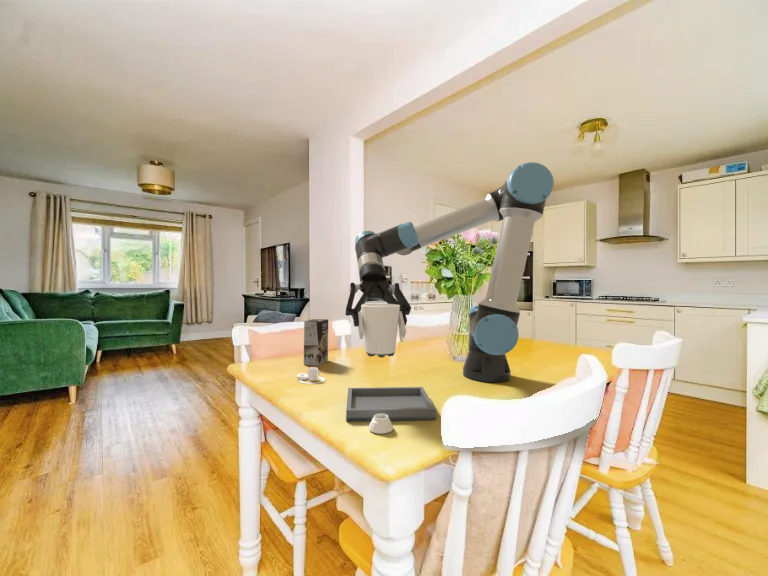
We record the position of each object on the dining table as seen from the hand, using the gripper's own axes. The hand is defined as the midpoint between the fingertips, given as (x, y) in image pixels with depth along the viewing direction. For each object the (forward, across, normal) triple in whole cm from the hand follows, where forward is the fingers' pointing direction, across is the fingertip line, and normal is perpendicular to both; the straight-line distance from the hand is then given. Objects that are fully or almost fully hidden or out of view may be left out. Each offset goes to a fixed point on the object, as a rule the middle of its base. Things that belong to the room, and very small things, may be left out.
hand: (383, 335), depth 85 cm
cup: (+2, 0, -6) cm, 6 cm away
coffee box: (-22, +15, -47) cm, 54 cm away
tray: (+13, -1, -12) cm, 18 cm away
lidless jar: (+22, +3, -4) cm, 22 cm away
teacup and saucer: (-7, +16, -34) cm, 38 cm away
